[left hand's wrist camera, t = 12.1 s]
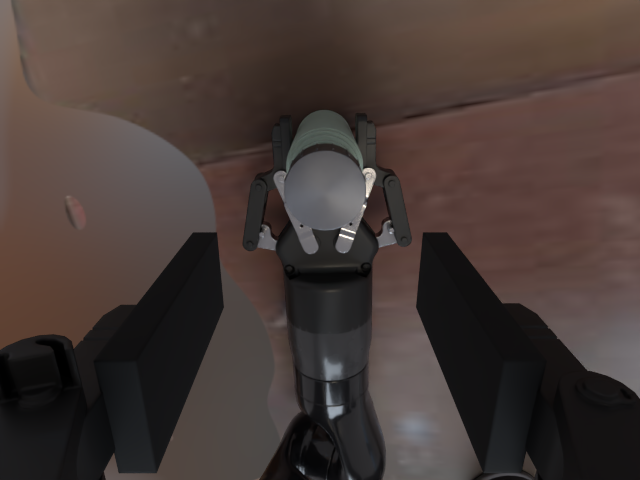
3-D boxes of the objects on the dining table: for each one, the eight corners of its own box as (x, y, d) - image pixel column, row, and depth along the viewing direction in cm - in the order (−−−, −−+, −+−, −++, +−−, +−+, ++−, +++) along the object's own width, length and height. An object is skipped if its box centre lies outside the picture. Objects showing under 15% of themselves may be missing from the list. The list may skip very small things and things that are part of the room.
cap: (271, 181, 25) (266, 192, 22) (324, 125, 23) (324, 131, 21) (325, 231, 26) (325, 246, 24) (378, 180, 24) (384, 191, 22)
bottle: (285, 138, 39) (258, 190, 23) (323, 97, 38) (324, 121, 21) (324, 176, 41) (325, 251, 24) (362, 138, 39) (392, 189, 23)
